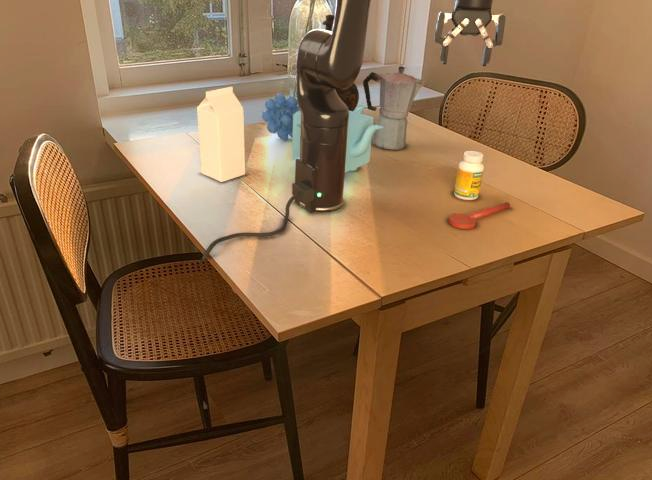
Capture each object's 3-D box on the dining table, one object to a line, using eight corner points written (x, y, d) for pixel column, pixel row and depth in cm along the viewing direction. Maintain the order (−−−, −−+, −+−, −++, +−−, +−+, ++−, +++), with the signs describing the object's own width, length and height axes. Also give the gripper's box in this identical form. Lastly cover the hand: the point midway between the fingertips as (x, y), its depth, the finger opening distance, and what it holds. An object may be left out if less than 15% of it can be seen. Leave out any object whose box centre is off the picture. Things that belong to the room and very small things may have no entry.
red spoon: (498, 203, 125) (500, 197, 124) (518, 212, 122) (519, 206, 121) (443, 221, 117) (444, 214, 116) (462, 231, 113) (464, 224, 112)
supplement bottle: (462, 188, 131) (470, 147, 126) (483, 196, 128) (491, 154, 123) (448, 195, 128) (455, 152, 123) (469, 203, 125) (477, 160, 119)
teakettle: (289, 154, 145) (290, 94, 137) (363, 154, 147) (369, 95, 139) (295, 184, 129) (296, 118, 121) (378, 184, 131) (384, 119, 123)
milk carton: (245, 175, 133) (243, 89, 123) (221, 183, 128) (216, 95, 118) (225, 166, 137) (221, 83, 127) (201, 173, 132) (195, 88, 122)
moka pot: (418, 152, 150) (429, 72, 140) (358, 149, 150) (365, 69, 139) (414, 140, 158) (424, 63, 148) (357, 137, 158) (363, 60, 147)
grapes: (265, 145, 150) (265, 98, 143) (260, 137, 155) (260, 91, 149) (309, 143, 153) (310, 97, 146) (303, 135, 158) (304, 90, 152)
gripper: (443, -18, 116) (432, 67, 125) (516, -15, 116) (499, 70, 124) (440, -22, 123) (429, 59, 131) (508, -19, 122) (493, 62, 131)
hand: (463, 64), depth 128 cm, fingers open, 8 cm apart
